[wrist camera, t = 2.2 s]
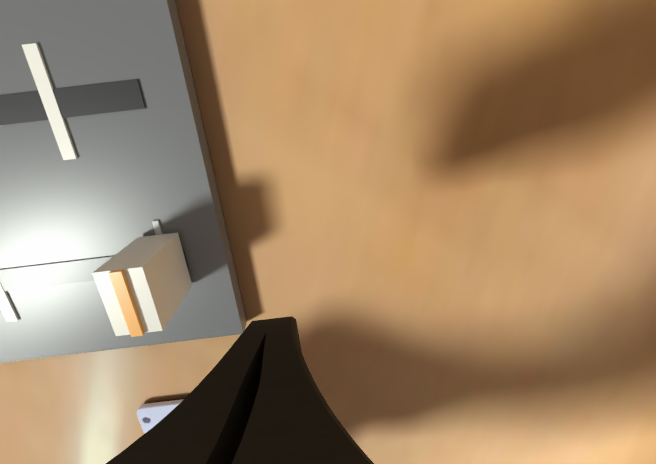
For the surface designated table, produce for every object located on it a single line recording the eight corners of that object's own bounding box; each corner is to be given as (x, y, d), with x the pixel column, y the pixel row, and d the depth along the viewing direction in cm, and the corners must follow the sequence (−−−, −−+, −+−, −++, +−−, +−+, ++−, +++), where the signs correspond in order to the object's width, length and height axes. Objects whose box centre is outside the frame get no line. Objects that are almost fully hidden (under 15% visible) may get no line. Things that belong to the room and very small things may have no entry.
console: (246, 321, 21) (242, 335, 20) (-53, 357, 21) (-75, 373, 20) (167, -36, 15) (154, -48, 14) (-254, 13, 15) (-304, 5, 14)
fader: (192, 285, 19) (160, 333, 15) (154, 289, 19) (113, 339, 15) (177, 232, 18) (140, 269, 14) (138, 237, 18) (89, 275, 14)
